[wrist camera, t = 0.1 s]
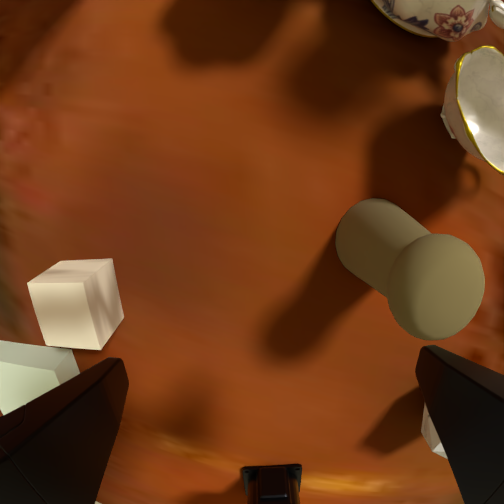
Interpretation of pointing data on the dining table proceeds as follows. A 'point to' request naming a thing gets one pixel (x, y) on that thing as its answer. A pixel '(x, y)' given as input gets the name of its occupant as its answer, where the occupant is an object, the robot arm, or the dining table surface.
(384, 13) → the chinaware
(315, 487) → the dining table surface
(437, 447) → the die
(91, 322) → the birch cube
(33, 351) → the sage block
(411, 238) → the cork
